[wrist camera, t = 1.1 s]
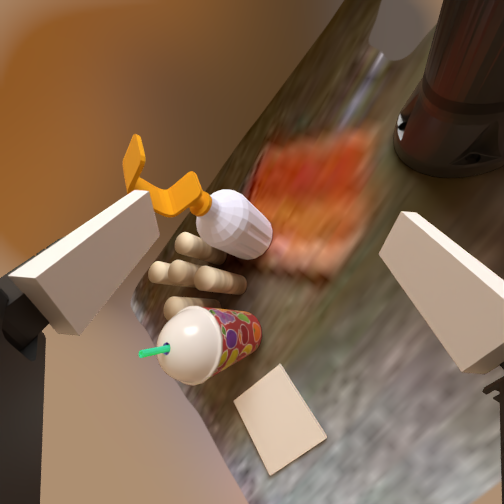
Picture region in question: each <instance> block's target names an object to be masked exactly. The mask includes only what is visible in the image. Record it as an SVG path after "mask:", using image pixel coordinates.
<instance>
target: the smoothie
mask: <svg viewBox="0 0 504 504" xmlns="http://www.w3.org/2000/svg"><path fill="white" fill-rule="evenodd" d="M261 338H262V329H261V326H260V323H259V321H258V320H257V318H256V317H255V316H254V315H252V314H251V313H249V312H246V311H237V310H227V309H218V308H208V307H200V306H188V307H186V308H184V309H182V310H180V311H179V312H178V313H177V314H176V315H175V316H173V317H172V318H171V319H170V320H169V321H168V322H167V323H166V324H165V326H164V327H163V329H162V331H161V332H160V334H159V337H158V341H157V347H155V348H150V349H145V350H140V351H139V357H140V358H143V357H147V356H152V355H156V354H157V358H158V361H159V364H160V366H161V367H162V369H163V370H164V372H165V373H166V374H168V375H169V376H170V377H172V378H173V379H175V380H178V381H181V382H182V383H184V384H188V385H193V386H194V385H197V384H201V383H203V382H205V381H206V380H207V379H209V378H211V377H212V376H214V375H216V374H217V373H219V372H221V371H222V370H224V369H226V368H228V367H229V366H231V365H233V364H234V363H236V362H238V361H240V360H241V359H243V358H245V357H246V356H248V355H250V354H251V353H253V352H254V351H255V350H256V349H257V348H258V346H259V344H260V342H261Z"/></svg>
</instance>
